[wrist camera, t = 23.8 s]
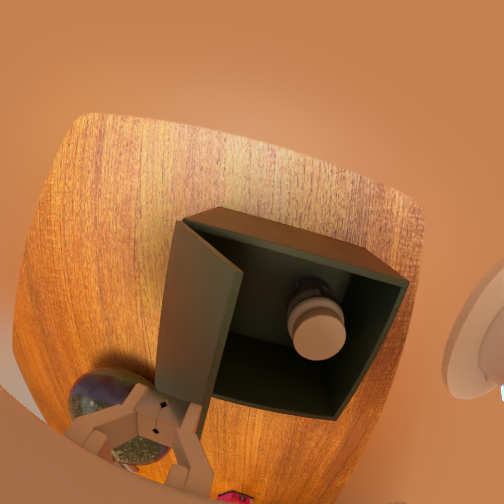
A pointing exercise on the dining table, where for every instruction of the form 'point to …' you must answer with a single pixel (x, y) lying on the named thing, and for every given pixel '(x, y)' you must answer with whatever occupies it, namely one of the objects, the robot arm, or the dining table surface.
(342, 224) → the dining table surface
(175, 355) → the dark green box lid
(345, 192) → the dining table surface
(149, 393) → the robot arm
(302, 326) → the pill bottle
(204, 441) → the dining table surface
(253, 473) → the dining table surface
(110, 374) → the vase
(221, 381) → the open box
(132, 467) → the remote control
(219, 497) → the supplement box
